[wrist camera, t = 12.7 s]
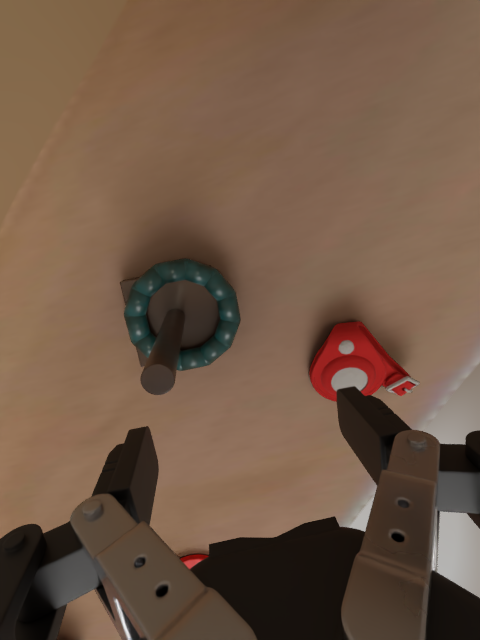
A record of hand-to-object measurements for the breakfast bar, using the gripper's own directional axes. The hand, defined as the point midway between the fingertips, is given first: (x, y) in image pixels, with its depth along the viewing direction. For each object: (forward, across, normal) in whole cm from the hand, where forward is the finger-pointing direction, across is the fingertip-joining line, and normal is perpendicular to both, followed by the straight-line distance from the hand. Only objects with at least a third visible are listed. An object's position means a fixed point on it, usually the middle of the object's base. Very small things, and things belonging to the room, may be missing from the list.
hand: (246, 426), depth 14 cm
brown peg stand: (+23, +5, 0) cm, 23 cm away
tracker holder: (+23, -14, +10) cm, 29 cm away
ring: (+20, +4, 0) cm, 21 cm away
